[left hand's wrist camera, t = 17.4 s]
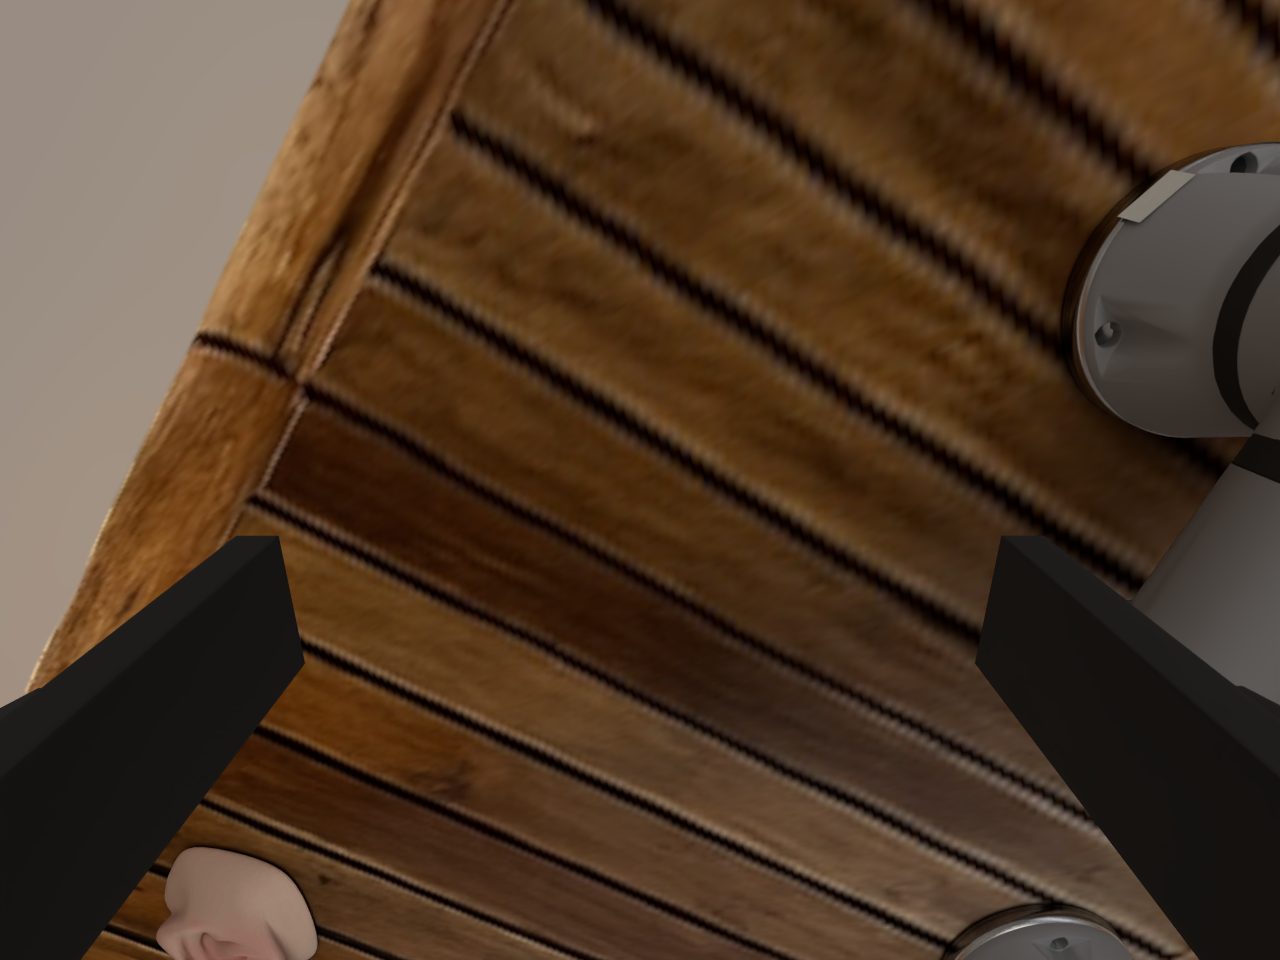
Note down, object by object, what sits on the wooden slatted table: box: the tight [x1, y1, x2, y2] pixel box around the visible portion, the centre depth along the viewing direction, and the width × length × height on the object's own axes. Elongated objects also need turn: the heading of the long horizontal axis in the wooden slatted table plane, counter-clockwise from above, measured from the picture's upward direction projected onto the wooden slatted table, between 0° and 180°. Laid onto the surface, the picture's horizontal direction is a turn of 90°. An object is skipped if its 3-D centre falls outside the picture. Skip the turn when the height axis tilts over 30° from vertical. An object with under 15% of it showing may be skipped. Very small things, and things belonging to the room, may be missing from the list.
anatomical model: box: [156, 847, 317, 960], centre depth 53 cm, size 13×4×12 cm
